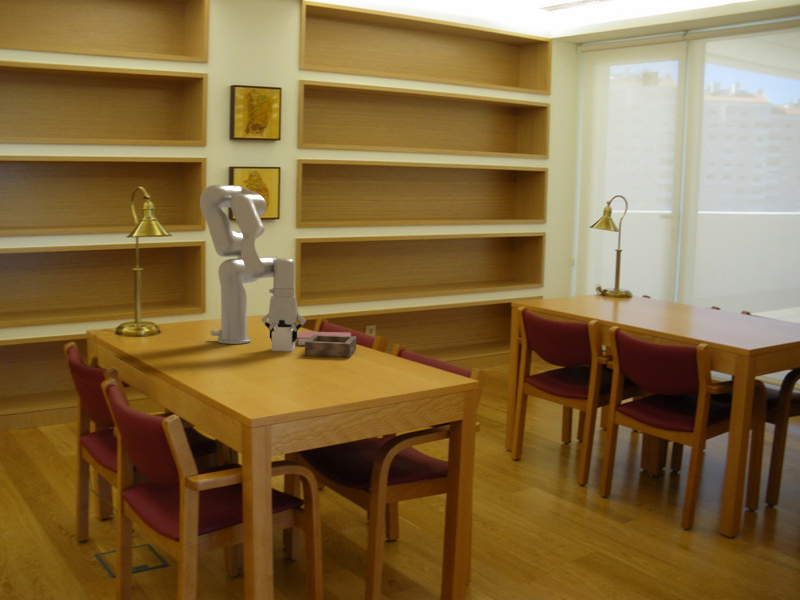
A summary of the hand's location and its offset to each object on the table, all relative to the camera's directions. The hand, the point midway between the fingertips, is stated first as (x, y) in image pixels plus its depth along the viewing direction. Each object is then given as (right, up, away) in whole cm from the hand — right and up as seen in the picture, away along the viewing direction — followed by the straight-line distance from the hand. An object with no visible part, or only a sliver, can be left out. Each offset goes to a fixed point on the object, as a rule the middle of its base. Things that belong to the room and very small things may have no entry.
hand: (283, 340), depth 305 cm
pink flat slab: (+13, -2, +17) cm, 22 cm away
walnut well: (+18, -4, -3) cm, 18 cm away
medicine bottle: (0, -4, 0) cm, 3 cm away
